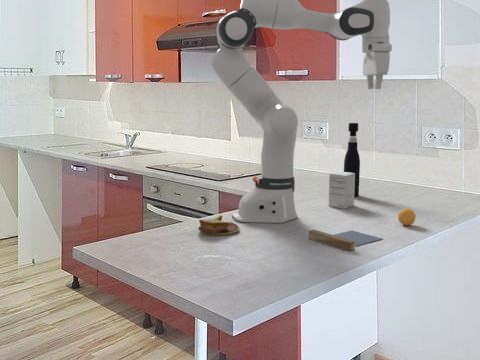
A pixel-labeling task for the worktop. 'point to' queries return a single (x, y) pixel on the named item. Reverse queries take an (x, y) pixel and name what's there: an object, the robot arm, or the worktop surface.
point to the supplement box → (341, 189)
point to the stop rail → (332, 240)
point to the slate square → (358, 237)
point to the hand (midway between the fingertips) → (374, 89)
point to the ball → (406, 217)
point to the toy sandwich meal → (217, 227)
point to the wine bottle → (353, 156)
